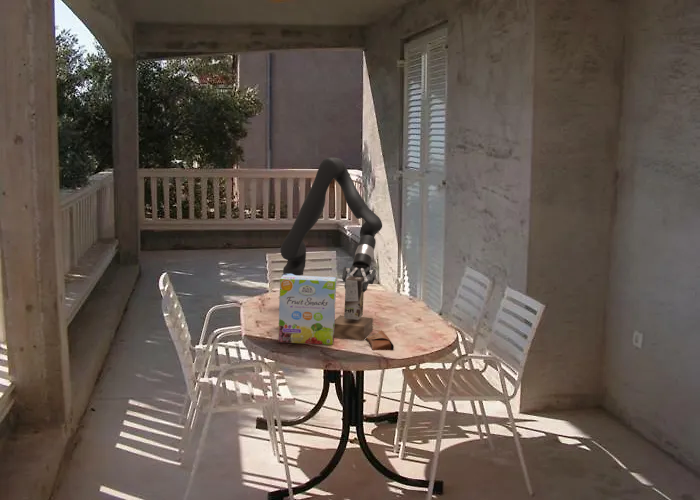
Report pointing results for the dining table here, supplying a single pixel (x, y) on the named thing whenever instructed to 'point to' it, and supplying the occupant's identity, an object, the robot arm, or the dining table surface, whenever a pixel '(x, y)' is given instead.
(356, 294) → the coffee box
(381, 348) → the sunglasses case
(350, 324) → the walnut block
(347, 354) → the dining table surface
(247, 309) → the dining table surface
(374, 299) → the dining table surface
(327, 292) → the snack box
